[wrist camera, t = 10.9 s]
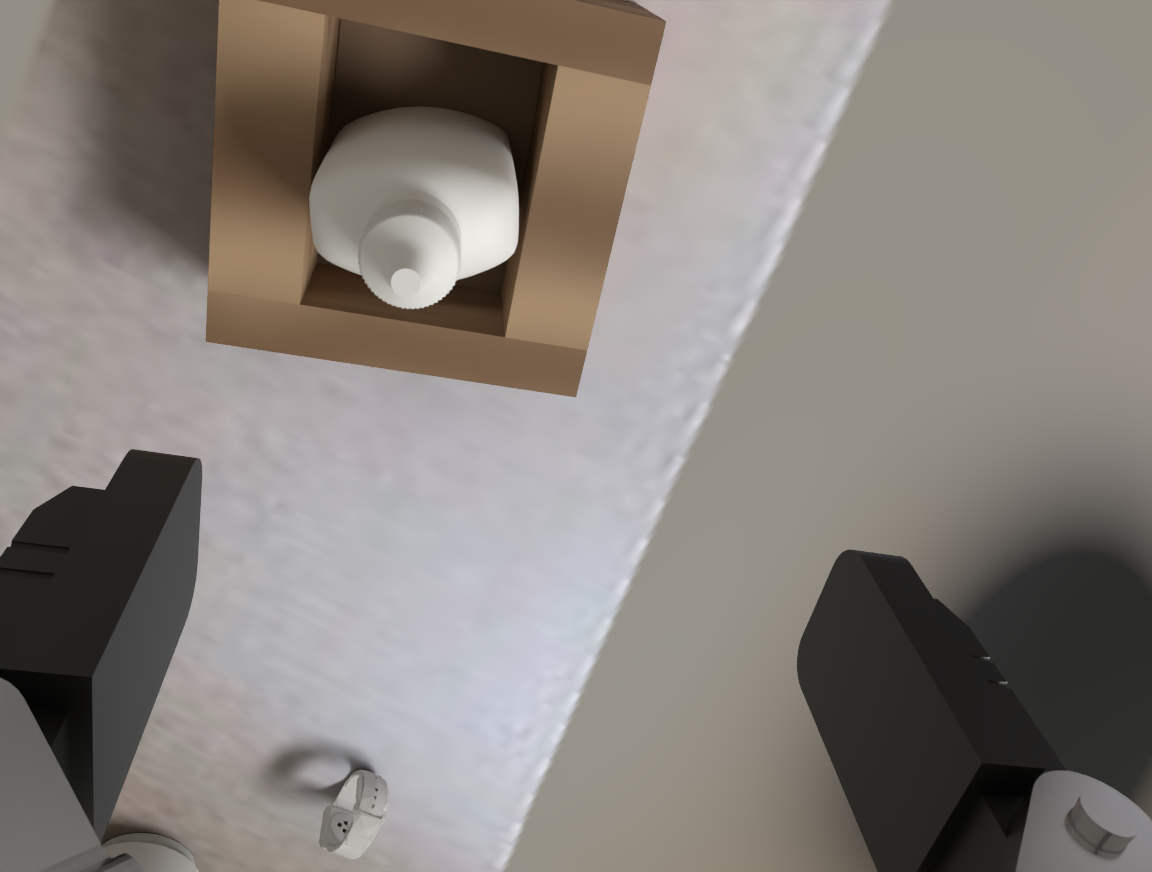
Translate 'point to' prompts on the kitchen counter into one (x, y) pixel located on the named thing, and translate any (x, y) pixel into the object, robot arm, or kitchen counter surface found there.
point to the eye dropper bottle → (416, 202)
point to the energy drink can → (152, 852)
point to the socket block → (432, 79)
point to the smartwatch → (355, 815)
